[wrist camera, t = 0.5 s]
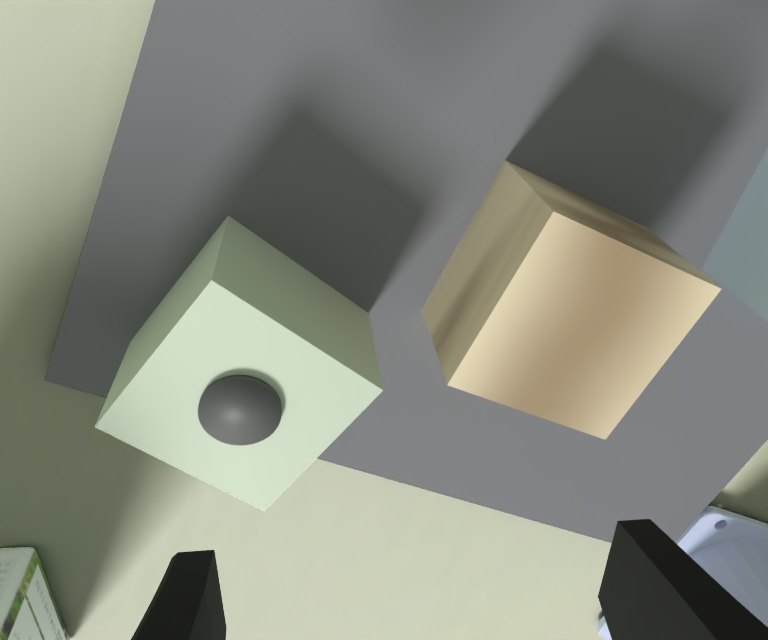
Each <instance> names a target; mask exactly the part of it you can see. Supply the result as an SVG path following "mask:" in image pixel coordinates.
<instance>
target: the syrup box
mask: <svg viewBox="0 0 768 640" xmlns="http://www.w3.org/2000/svg"><path fill="white" fill-rule="evenodd" d="M0 640H70V639H69V636H68V633H67V630H66V628H65V626H64V623H63V621H62V617H61V615H60V613H59V610H58V608H57V605H56V602H55V599H54V597H53V594H52V591H51V589H50V586H49V584H48V581H47V578H46V575H45V572H44V570H43V567H42V564H41V561H40V559H39V556H38V554H37V552H36V550H35V549H34V548H32V547H17V548H0Z"/></svg>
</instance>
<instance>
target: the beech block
mask: <svg viewBox="0 0 768 640" xmlns="http://www.w3.org/2000/svg"><path fill="white" fill-rule="evenodd" d="M720 291H721V288H720V287H719V286H717V285H716V284H715V283H714V282H713V281H711V280H710V279H709V278H708V277H707V276H705V275H704V274H703V273H702V272H700V271H699V270H698V269H697V268H696V267H694V266H693V265H692V264H691V263H689V262H688V261H687V260H686V259H685V258H683V257H682V256H681V255H680V254H678V253H677V252H676V251H675V250H674V249H672V248H671V247H670V246H669V245H667V244H666V243H665V242H664V241H663V240H661V239H660V238H659V237H658V236H656V235H655V234H654V233H653V232H652V231H650V230H649V229H648V228H646V227H644V226H642V225H640V224H638V223H636V222H634V221H632V220H630V219H627V218H625V217H623V216H621V215H619V214H617V213H615V212H613V211H611V210H609V209H607V208H604V207H602V206H600V205H598V204H596V203H594V202H592V201H590V200H588V199H586V198H583V197H581V196H579V195H577V194H575V193H573V192H571V191H569V190H567V189H565V188H563V187H560V186H558V185H556V184H554V183H552V182H550V181H548V180H546V179H544V178H542V177H539V176H537V175H535V174H533V173H531V172H529V171H527V170H525V169H523V168H521V167H519V166H516V165H514V164H512V163H510V162H508V161H506V160H505V161H504V163H503V165H502V166H501V168H500V170H499V172H498V174H497V175H496V177H495V179H494V181H493V183H492V184H491V186H490V188H489V190H488V191H487V193H486V195H485V197H484V199H483V200H482V202H481V204H480V206H479V208H478V209H477V211H476V213H475V215H474V217H473V218H472V220H471V222H470V224H469V225H468V227H467V229H466V231H465V233H464V234H463V236H462V238H461V240H460V242H459V243H458V245H457V247H456V249H455V251H454V252H453V254H452V256H451V258H450V259H449V261H448V263H447V265H446V267H445V268H444V270H443V272H442V274H441V276H440V277H439V279H438V281H437V283H436V284H435V286H434V288H433V290H432V292H431V293H430V295H429V297H428V299H427V301H426V302H425V304H424V306H423V308H422V312H423V315H424V318H425V321H426V324H427V327H428V330H429V333H430V336H431V338H432V341H433V344H434V347H435V350H436V353H437V356H438V359H439V362H440V365H441V368H442V371H443V374H444V377H445V380H446V383H447V385H448V386H451V387H454V388H457V389H460V390H463V391H465V392H468V393H471V394H474V395H477V396H480V397H483V398H486V399H489V400H492V401H494V402H497V403H500V404H503V405H506V406H509V407H512V408H515V409H518V410H520V411H523V412H526V413H529V414H532V415H535V416H538V417H541V418H544V419H547V420H549V421H552V422H555V423H558V424H561V425H564V426H567V427H570V428H573V429H576V430H578V431H581V432H584V433H587V434H590V435H593V436H596V437H599V438H602V439H605V440H606V438H607V437H608V436H609V435H610V433H611V432H612V431H613V429H614V428H615V427H616V425H617V424H618V423H619V422H620V420H621V419H622V418H623V416H624V415H625V414H626V412H627V411H628V410H629V409H630V407H631V406H632V405H633V403H634V402H635V401H636V400H637V398H638V397H639V396H640V394H641V393H642V392H643V390H644V389H645V388H646V387H647V385H648V384H649V383H650V381H651V380H652V379H653V377H654V376H655V375H656V374H657V372H658V371H659V370H660V368H661V367H662V366H663V364H664V363H665V362H666V361H667V359H668V358H669V357H670V355H671V354H672V353H673V352H674V350H675V349H676V348H677V346H678V345H679V344H680V342H681V341H682V340H683V339H684V337H685V336H686V335H687V333H688V332H689V331H690V329H691V328H692V327H693V326H694V324H695V323H696V322H697V320H698V319H699V318H700V317H701V315H702V314H703V313H704V311H705V310H706V309H707V307H708V306H709V305H710V304H711V302H712V301H713V300H714V298H715V297H716V296H717V294H718V293H719V292H720Z"/></svg>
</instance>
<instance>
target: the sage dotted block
mask: <svg viewBox="0 0 768 640" xmlns="http://www.w3.org/2000/svg"><path fill="white" fill-rule="evenodd" d="M382 391H383V386H382V381H381V376H380V371H379V365H378V360H377V355H376V349H375V344H374V339H373V333H372V328H371V323H370V317H369V313H368V312H366V311H365V310H364V309H362V308H361V307H359V306H358V305H356V304H355V303H353V302H352V301H351V300H349V299H348V298H346V297H345V296H343V295H342V294H341V293H339V292H338V291H336V290H335V289H333V288H332V287H330V286H329V285H328V284H326V283H325V282H323V281H322V280H320V279H319V278H318V277H316V276H315V275H313V274H312V273H310V272H309V271H308V270H306V269H305V268H303V267H302V266H300V265H299V264H297V263H296V262H295V261H293V260H292V259H290V258H289V257H287V256H286V255H285V254H283V253H282V252H280V251H279V250H277V249H276V248H274V247H273V246H272V245H270V244H269V243H267V242H266V241H264V240H263V239H262V238H260V237H259V236H257V235H256V234H254V233H253V232H251V231H250V230H249V229H247V228H246V227H244V226H243V225H241V224H240V223H239V222H237V221H236V220H234V219H233V218H231V217H230V216H227V217H226V219H225V220H224V221H223V223H222V224H221V225H220V227H219V228H218V229H217V230H216V232H215V233H214V234H213V236H212V237H211V238H210V239H209V241H208V242H207V243H206V245H205V246H204V247H203V248H202V250H201V251H200V252H199V254H198V255H197V256H196V257H195V259H194V260H193V261H192V263H191V264H190V265H189V267H188V268H187V269H186V270H185V272H184V273H183V274H182V276H181V277H180V278H179V279H178V281H177V282H176V283H175V285H174V286H173V287H172V288H171V290H170V291H169V292H168V294H167V295H166V296H165V298H164V299H163V300H162V301H161V303H160V304H159V305H158V307H157V308H156V309H155V310H154V312H153V313H152V314H151V316H150V317H149V318H148V319H147V321H146V322H145V323H144V325H143V326H142V327H141V328H140V330H139V331H138V332H137V334H136V335H135V336H134V338H133V339H132V340H131V341H130V344H129V346H128V348H127V351H126V353H125V356H124V358H123V360H122V363H121V365H120V367H119V370H118V372H117V375H116V377H115V379H114V382H113V384H112V386H111V389H110V391H109V394H108V396H107V398H106V401H105V403H104V405H103V408H102V410H101V413H100V415H99V417H98V420H97V422H96V424H95V428H97V429H99V430H101V431H103V432H105V433H107V434H109V435H111V436H113V437H115V438H117V439H119V440H121V441H123V442H125V443H127V444H129V445H131V446H133V447H135V448H137V449H139V450H141V451H143V452H145V453H147V454H149V455H151V456H153V457H155V458H157V459H159V460H161V461H163V462H165V463H167V464H169V465H171V466H173V467H175V468H177V469H179V470H181V471H183V472H185V473H187V474H189V475H191V476H193V477H195V478H197V479H199V480H201V481H203V482H205V483H207V484H209V485H211V486H213V487H215V488H217V489H219V490H221V491H223V492H225V493H227V494H229V495H231V496H233V497H235V498H237V499H239V500H241V501H243V502H245V503H247V504H249V505H251V506H253V507H255V508H257V509H259V510H261V511H263V512H265V511H266V510H267V509H268V508H269V507H270V506H271V504H272V503H273V502H274V501H275V500H276V499H277V498H278V497H279V496H280V495H281V494H282V493H283V492H284V491H285V490H286V489H287V488H288V487H289V486H290V485H291V484H292V483H293V482H294V481H295V480H296V479H297V478H298V477H299V476H300V475H301V474H302V473H303V472H304V471H305V470H306V469H307V468H308V467H309V466H310V465H311V464H312V463H313V462H314V461H315V460H316V459H317V458H318V457H319V456H320V455H321V453H322V452H323V451H324V450H325V449H326V448H327V447H328V446H329V445H330V444H331V443H332V442H333V441H334V440H335V439H336V438H337V437H338V436H339V435H340V434H341V433H342V432H343V431H344V430H345V429H346V428H347V427H348V426H349V425H350V424H351V423H352V422H353V421H354V420H355V419H356V418H357V417H358V416H359V415H360V414H361V413H362V412H363V411H364V410H365V409H366V408H367V407H368V406H369V405H370V404H371V403H372V401H373V400H374V399H375V398H376V397H377V396H378V395H379V394H380V393H381V392H382Z"/></svg>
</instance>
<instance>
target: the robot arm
mask: <svg viewBox="0 0 768 640" xmlns="http://www.w3.org/2000/svg"><path fill="white" fill-rule="evenodd" d="M598 598H599V601H600V604H601V608H602V611H603V614H604V616H603V617H602V618H601V619H600V621H599V622H598V623H597V625H596V630H597V632H598V634H599V636H600V637H602V638H605V639H609V640H768V524H767V523H764V522H761V521H758V520H755V519H751V518H748V517H745V516H742V515H739V514H736V513H733V512H730V511H727V510H724V509H721V508H718V507H715V506H707V507H706V508H705V509H704V510H703V511H702V513H701V514H700V515H699V516H698V517H697V518H696V519H695V520H694V521H693V523H692V524H691V525H690V526H689V527H688V528H687V529H686V530H685V531H684V533H683V534H682V535H681V536H680V537H679V538H678V539H677V540H676V541H675V542H674V541H673V540H672V539H671V538H670V537H669V536H668V535H667V534H666V533H665V532H664V531H662V530H661V529H660V528H659V527H658V526H657V525H656V524H655V523H654V522H653V521H652V520H651V519H638V520H624V521H617V525H616V529H615V533H614V537H613V541H612V545H611V548H610V552H609V556H608V560H607V564H606V568H605V572H604V575H603V579H602V583H601V587H600V591H599V595H598ZM225 639H226V623H225V616H224V610H223V604H222V597H221V591H220V584H219V578H218V571H217V565H216V558H215V552H214V550H207V551H193V552H179V553H177V554H176V555H175V556H173V557H172V559H171V561H170V563H169V566H168V568H167V570H166V573H165V575H164V577H163V579H162V581H161V583H160V585H159V587H158V589H157V591H156V593H155V595H154V597H153V599H152V601H151V603H150V605H149V607H148V609H147V611H146V613H145V615H144V617H143V619H142V620H141V622H140V624H139V626H138V628H137V630H136V632H135V633H134V635H133V637H132V639H131V640H225Z"/></svg>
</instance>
